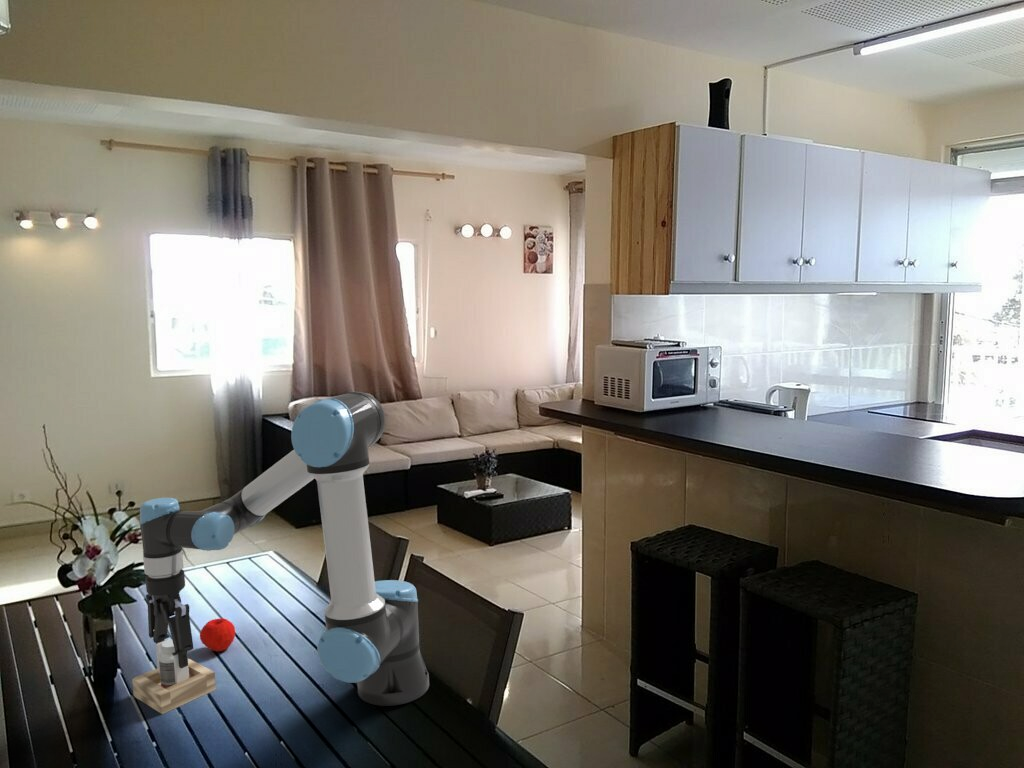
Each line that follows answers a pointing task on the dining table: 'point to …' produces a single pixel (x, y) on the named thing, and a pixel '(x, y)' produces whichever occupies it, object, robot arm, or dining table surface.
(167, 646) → the pill bottle
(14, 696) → the dining table surface
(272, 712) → the dining table surface
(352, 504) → the robot arm
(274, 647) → the dining table surface
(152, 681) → the maple holder
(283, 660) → the dining table surface
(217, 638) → the apple
